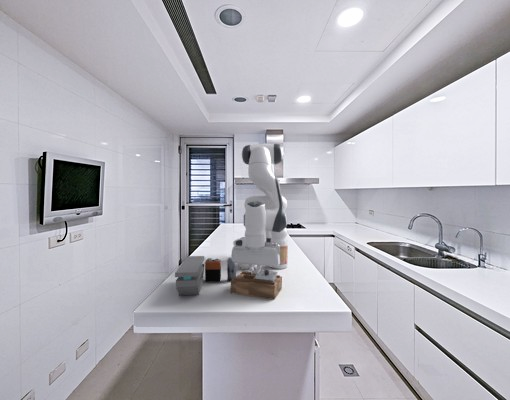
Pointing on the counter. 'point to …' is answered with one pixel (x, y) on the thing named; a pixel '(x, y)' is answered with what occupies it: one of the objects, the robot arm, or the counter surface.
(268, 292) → the socket block
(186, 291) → the grey storage box
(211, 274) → the battery
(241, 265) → the lidded jar
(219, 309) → the counter surface
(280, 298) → the counter surface
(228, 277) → the grey rounded cylinder
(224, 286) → the counter surface
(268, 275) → the square lid with knob
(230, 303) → the counter surface
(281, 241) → the fruit juice
